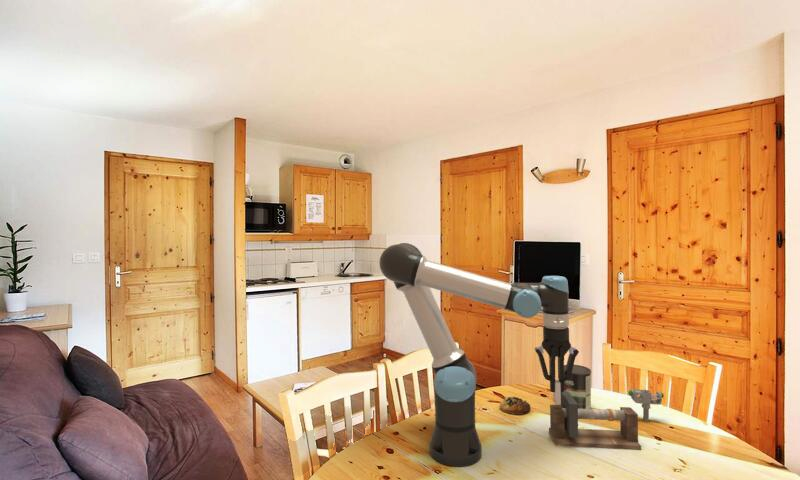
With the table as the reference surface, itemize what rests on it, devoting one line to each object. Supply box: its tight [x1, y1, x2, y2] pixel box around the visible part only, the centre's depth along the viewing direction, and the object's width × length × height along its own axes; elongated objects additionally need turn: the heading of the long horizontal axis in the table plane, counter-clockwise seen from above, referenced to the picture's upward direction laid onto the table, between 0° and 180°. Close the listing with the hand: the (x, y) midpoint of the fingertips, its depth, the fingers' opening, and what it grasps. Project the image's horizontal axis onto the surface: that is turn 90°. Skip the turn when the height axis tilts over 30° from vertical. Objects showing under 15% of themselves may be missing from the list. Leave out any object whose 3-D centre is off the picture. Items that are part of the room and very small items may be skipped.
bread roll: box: [499, 396, 531, 415], centre depth 149 cm, size 11×11×5 cm
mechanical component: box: [628, 388, 665, 423], centre depth 138 cm, size 3×10×10 cm, turn 79°
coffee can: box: [564, 364, 592, 409], centre depth 149 cm, size 10×10×14 cm
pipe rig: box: [548, 404, 642, 451], centre depth 126 cm, size 24×9×10 cm, turn 83°
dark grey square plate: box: [560, 391, 579, 438], centre depth 127 cm, size 2×10×10 cm, turn 173°
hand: (557, 402), depth 127 cm, fingers closed
